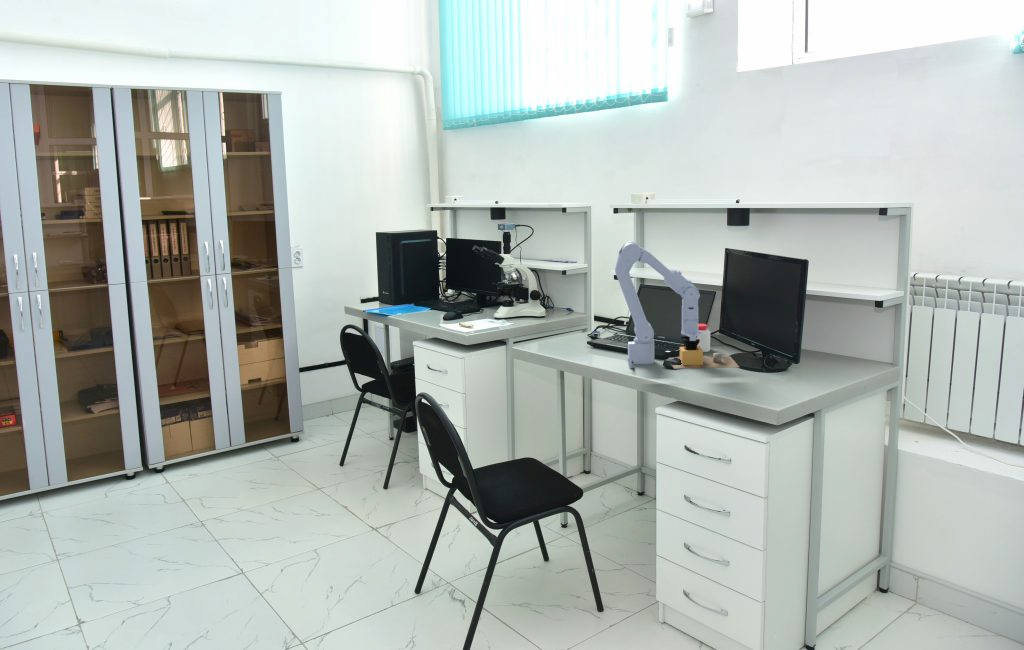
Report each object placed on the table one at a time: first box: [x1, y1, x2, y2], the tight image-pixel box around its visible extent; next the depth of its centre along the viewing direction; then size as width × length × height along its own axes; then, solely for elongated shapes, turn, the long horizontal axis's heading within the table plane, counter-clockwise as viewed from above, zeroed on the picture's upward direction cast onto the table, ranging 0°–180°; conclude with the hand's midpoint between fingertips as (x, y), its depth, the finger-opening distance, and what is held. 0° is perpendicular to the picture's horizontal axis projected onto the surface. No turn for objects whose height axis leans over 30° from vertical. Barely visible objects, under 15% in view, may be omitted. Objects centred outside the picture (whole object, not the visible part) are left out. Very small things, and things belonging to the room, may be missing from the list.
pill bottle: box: [696, 323, 711, 353], centre depth 284 cm, size 8×8×11 cm
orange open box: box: [679, 346, 704, 365], centre depth 265 cm, size 7×7×5 cm
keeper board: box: [668, 352, 740, 370], centre depth 265 cm, size 22×16×4 cm
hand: (689, 356), depth 268 cm, fingers open, 4 cm apart
